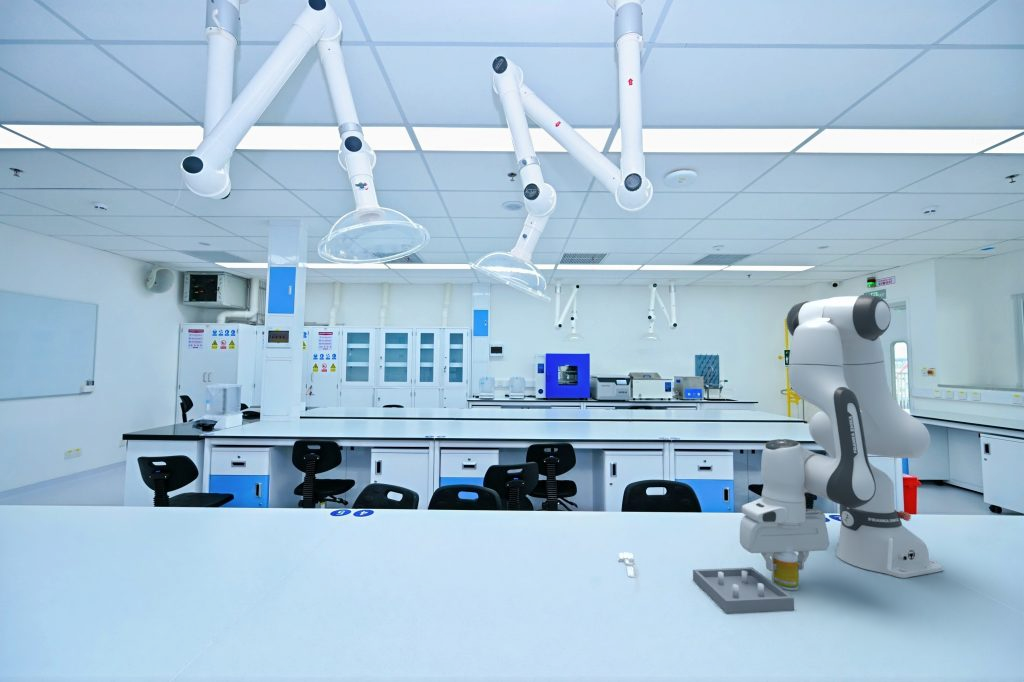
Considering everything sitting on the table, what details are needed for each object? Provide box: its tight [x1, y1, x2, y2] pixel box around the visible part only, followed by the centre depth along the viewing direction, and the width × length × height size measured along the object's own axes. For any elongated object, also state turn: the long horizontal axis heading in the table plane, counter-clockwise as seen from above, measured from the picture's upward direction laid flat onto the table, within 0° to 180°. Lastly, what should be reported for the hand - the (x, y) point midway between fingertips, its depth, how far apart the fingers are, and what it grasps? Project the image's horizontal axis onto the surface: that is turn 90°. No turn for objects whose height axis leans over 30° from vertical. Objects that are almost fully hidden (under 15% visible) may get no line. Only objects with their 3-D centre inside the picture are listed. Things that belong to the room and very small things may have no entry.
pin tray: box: [692, 566, 795, 614], centre depth 99 cm, size 15×14×4 cm
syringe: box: [617, 551, 637, 578], centre depth 109 cm, size 20×5×2 cm, turn 174°
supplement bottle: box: [770, 546, 800, 591], centre depth 104 cm, size 5×5×10 cm
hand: (785, 569), depth 104 cm, fingers closed on supplement bottle, 5 cm apart
